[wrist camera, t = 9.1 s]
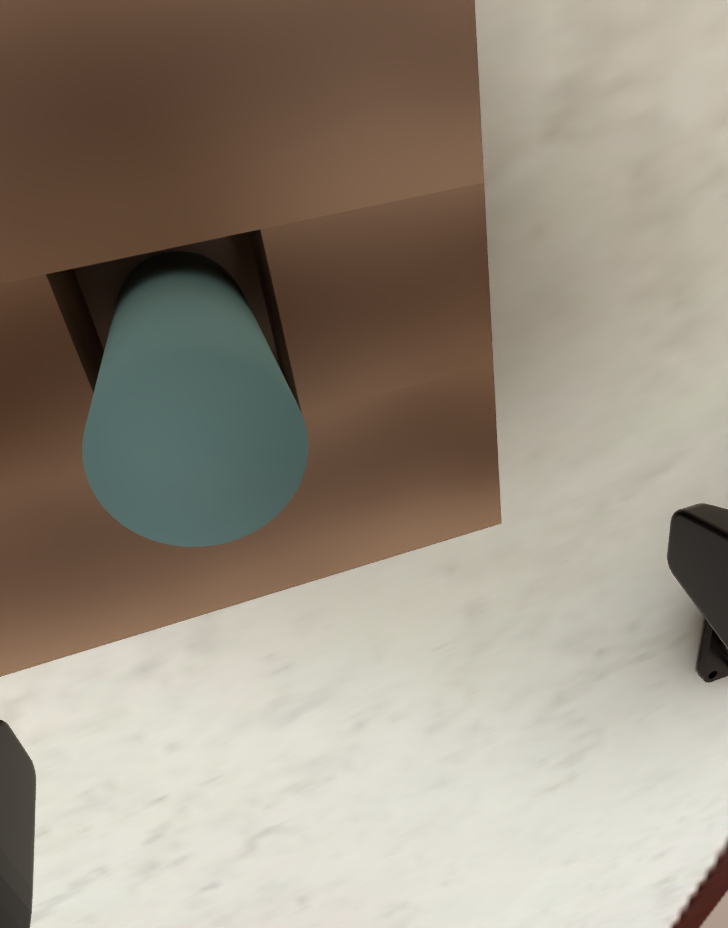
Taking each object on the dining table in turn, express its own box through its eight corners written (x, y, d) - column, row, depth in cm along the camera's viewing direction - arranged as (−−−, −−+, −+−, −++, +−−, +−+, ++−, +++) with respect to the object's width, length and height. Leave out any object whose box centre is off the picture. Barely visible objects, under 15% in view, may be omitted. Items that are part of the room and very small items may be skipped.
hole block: (447, 460, 22) (501, 522, 18) (19, 581, 19) (-10, 679, 16) (396, -62, 15) (468, -118, 11) (-288, 32, 12) (-458, -2, 9)
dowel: (260, 360, 17) (325, 514, 10) (140, 389, 17) (127, 571, 10) (230, 238, 16) (284, 325, 9) (97, 266, 15) (43, 380, 8)
